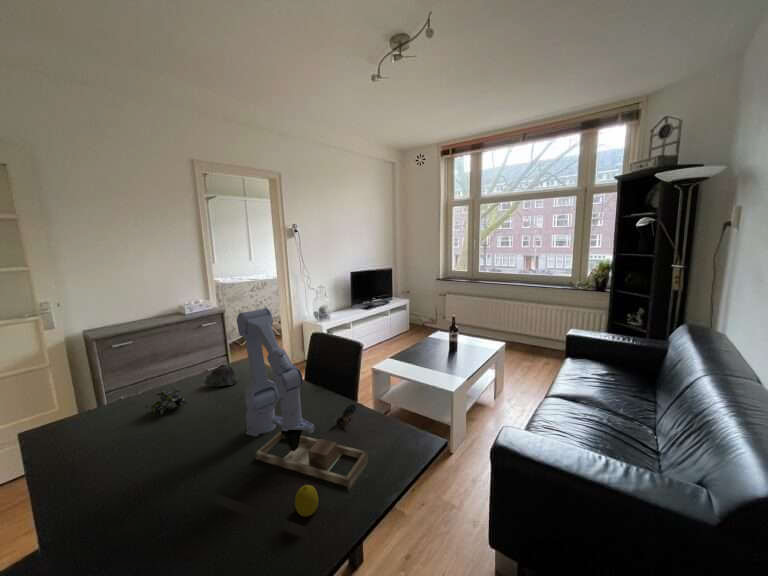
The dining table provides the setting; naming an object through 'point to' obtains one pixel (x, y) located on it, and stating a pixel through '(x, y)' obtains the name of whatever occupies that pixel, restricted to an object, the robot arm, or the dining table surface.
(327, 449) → the walnut block
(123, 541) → the dining table surface
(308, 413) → the dining table surface
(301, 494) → the lemon
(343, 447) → the frame
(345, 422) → the eagle figurine
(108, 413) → the dining table surface
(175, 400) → the passion flower
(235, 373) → the mineral rock
